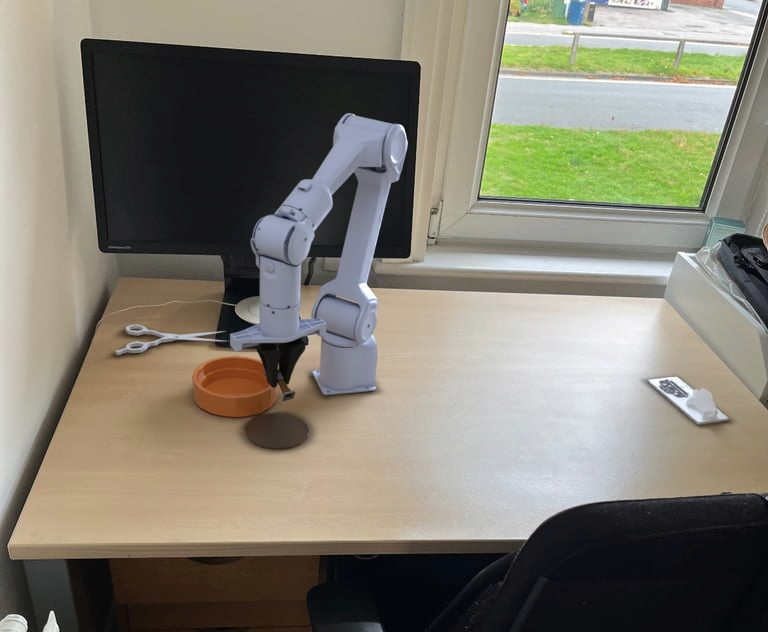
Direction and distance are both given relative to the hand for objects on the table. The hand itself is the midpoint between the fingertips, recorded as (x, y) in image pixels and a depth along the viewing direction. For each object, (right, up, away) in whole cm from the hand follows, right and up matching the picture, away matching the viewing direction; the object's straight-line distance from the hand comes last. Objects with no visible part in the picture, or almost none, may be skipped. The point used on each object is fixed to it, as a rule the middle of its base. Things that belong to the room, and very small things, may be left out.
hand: (278, 383), depth 125 cm
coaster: (-1, -7, +5) cm, 9 cm away
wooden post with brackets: (0, -1, +1) cm, 1 cm away
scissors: (-23, +9, +27) cm, 36 cm away
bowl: (-9, -2, +12) cm, 15 cm away
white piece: (+71, -2, +25) cm, 76 cm away
